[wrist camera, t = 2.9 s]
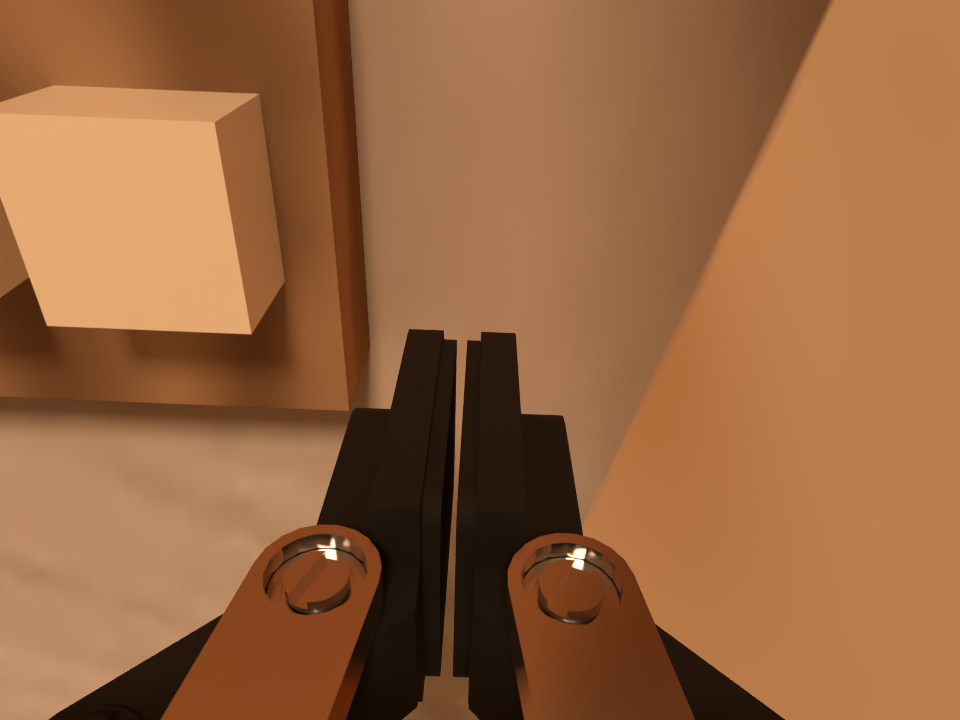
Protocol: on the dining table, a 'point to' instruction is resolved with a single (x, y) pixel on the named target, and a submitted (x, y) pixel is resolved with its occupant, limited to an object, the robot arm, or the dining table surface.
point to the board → (295, 183)
